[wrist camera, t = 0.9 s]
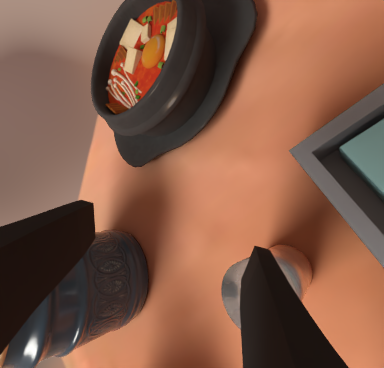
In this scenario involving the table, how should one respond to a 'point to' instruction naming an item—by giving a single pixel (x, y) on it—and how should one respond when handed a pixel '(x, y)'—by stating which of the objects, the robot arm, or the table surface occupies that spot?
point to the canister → (84, 302)
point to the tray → (340, 175)
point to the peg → (290, 265)
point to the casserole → (167, 70)
